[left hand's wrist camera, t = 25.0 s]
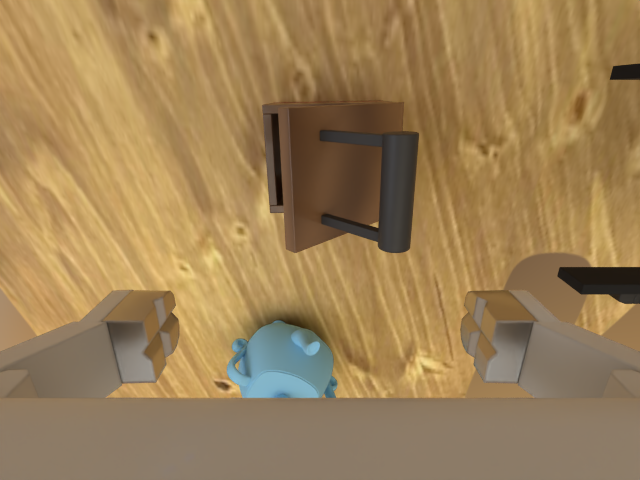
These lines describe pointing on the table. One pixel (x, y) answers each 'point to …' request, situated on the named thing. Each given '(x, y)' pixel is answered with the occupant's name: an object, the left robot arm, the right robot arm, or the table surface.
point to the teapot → (283, 364)
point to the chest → (274, 146)
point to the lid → (347, 174)
